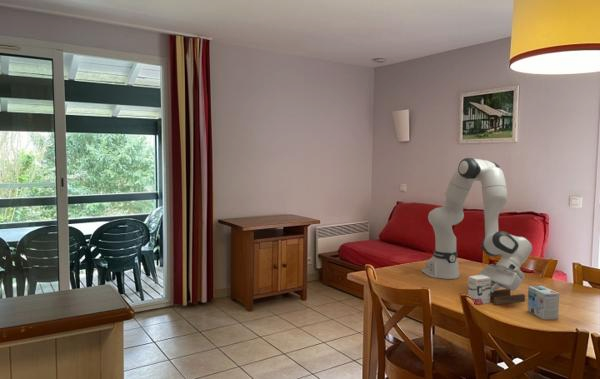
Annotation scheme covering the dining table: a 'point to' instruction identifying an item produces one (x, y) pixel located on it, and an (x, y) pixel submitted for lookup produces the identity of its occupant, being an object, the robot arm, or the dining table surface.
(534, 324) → the dining table surface
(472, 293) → the ink box
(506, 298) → the walnut chute
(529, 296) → the light bulb box
